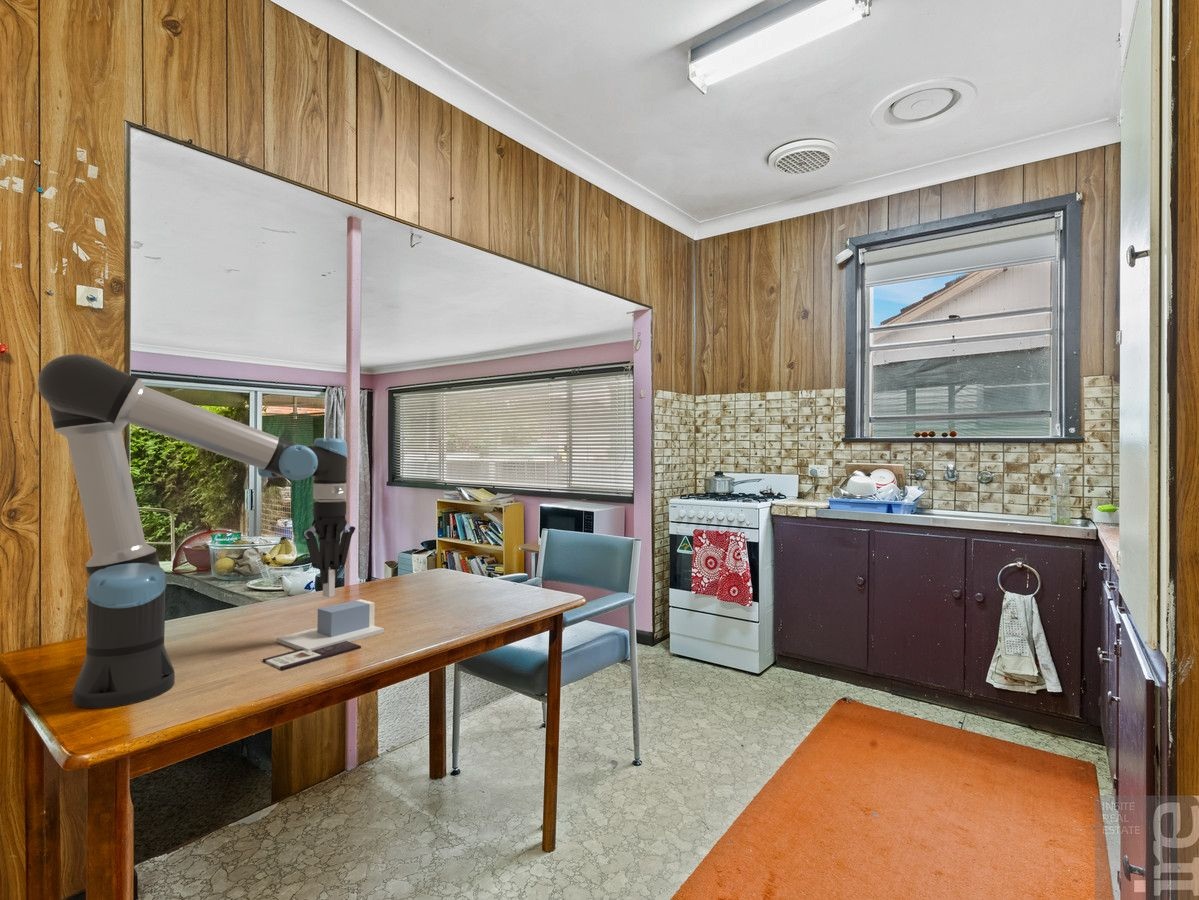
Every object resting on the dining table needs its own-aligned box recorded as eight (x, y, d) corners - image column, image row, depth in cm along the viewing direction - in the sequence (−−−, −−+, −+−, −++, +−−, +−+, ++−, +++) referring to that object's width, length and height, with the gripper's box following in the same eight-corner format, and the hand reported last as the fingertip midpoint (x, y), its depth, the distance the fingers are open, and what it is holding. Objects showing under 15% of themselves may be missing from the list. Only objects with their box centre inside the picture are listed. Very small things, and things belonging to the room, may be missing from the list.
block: (331, 612, 144) (374, 602, 154) (317, 608, 148) (360, 599, 158) (331, 637, 144) (374, 625, 154) (317, 632, 148) (360, 621, 157)
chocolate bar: (360, 645, 140) (283, 667, 125) (360, 649, 140) (283, 672, 125) (339, 638, 145) (262, 659, 130) (339, 642, 145) (262, 663, 130)
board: (308, 653, 135) (308, 649, 135) (276, 641, 143) (276, 637, 143) (383, 632, 152) (384, 628, 152) (351, 622, 160) (351, 619, 160)
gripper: (313, 503, 139) (311, 603, 139) (362, 499, 150) (361, 592, 150) (295, 501, 143) (294, 598, 143) (345, 498, 154) (343, 588, 154)
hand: (328, 595), depth 147 cm, fingers closed
